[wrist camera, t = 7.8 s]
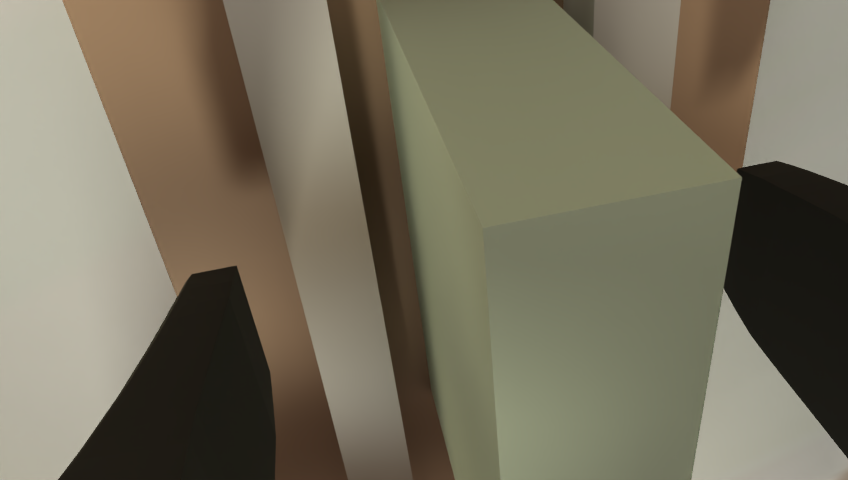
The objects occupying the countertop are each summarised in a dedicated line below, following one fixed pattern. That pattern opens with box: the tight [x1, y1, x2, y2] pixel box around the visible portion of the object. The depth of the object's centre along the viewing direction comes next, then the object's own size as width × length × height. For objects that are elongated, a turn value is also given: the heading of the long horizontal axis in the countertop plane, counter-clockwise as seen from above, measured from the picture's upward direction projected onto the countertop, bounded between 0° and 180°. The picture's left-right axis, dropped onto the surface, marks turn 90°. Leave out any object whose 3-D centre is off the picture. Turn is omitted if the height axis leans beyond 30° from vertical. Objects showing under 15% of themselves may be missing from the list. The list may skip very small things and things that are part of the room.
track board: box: [63, 0, 770, 480], centre depth 13 cm, size 20×10×3 cm, turn 6°
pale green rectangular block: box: [376, 0, 742, 480], centre depth 10 cm, size 8×2×6 cm, turn 6°
